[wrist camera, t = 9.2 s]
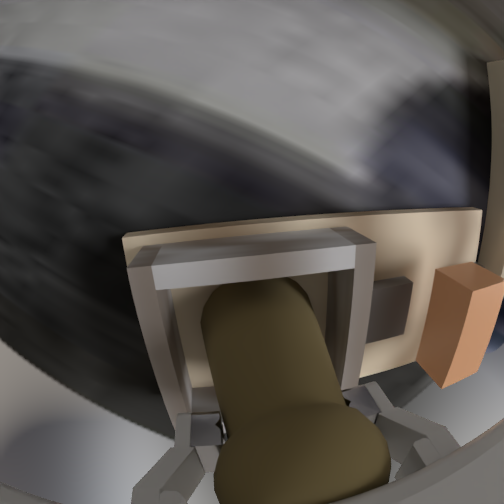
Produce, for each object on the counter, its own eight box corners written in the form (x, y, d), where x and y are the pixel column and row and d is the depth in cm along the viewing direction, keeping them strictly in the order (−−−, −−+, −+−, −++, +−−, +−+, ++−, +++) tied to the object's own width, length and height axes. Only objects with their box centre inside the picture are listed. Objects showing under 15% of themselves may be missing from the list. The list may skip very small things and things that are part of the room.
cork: (224, 253, 14) (261, 469, 4) (331, 291, 15) (459, 450, 5) (186, 351, 15) (178, 546, 5) (283, 376, 17) (340, 540, 6)
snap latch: (415, 359, 15) (441, 389, 12) (435, 268, 13) (472, 291, 11) (450, 346, 16) (477, 371, 13) (471, 261, 14) (507, 280, 11)
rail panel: (167, 395, 18) (162, 440, 14) (127, 232, 14) (100, 258, 10) (448, 340, 20) (476, 365, 16) (472, 207, 16) (513, 220, 13)
